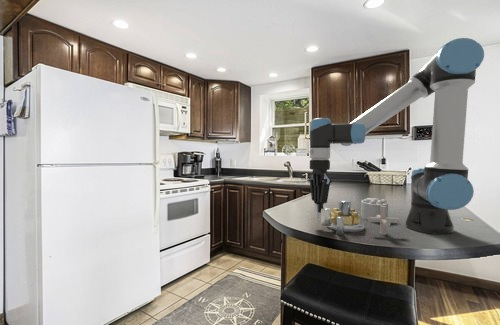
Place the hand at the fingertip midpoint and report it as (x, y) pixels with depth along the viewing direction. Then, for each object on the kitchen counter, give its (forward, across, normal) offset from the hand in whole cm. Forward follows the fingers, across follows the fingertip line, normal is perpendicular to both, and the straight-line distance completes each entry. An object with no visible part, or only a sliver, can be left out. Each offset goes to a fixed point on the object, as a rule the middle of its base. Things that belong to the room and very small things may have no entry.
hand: (318, 220), depth 99 cm
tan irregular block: (+1, +2, +7) cm, 8 cm away
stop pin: (+3, +9, +3) cm, 10 cm away
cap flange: (+3, +1, +11) cm, 11 cm away
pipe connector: (+3, +13, +18) cm, 22 cm away
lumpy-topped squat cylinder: (+4, -8, +33) cm, 34 cm away
